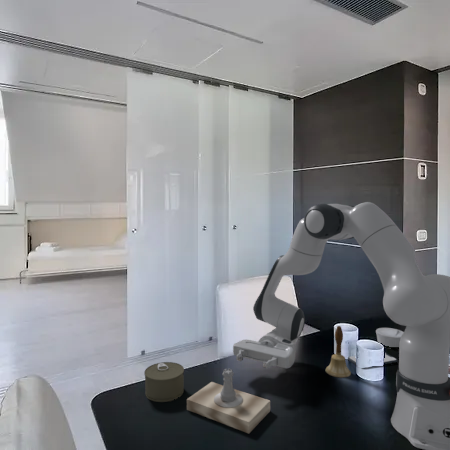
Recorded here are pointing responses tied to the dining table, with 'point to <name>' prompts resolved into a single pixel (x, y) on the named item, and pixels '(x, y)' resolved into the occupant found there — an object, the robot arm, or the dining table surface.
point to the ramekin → (389, 336)
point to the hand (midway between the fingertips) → (251, 361)
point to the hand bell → (338, 358)
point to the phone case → (386, 360)
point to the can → (164, 381)
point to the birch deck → (229, 407)
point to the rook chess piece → (228, 387)
